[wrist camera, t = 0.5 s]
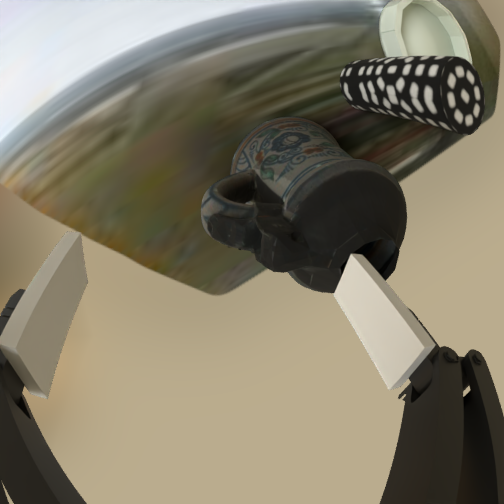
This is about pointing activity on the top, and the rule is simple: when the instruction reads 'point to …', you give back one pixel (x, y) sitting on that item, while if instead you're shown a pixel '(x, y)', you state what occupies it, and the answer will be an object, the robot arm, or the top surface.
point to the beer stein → (306, 205)
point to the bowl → (421, 30)
